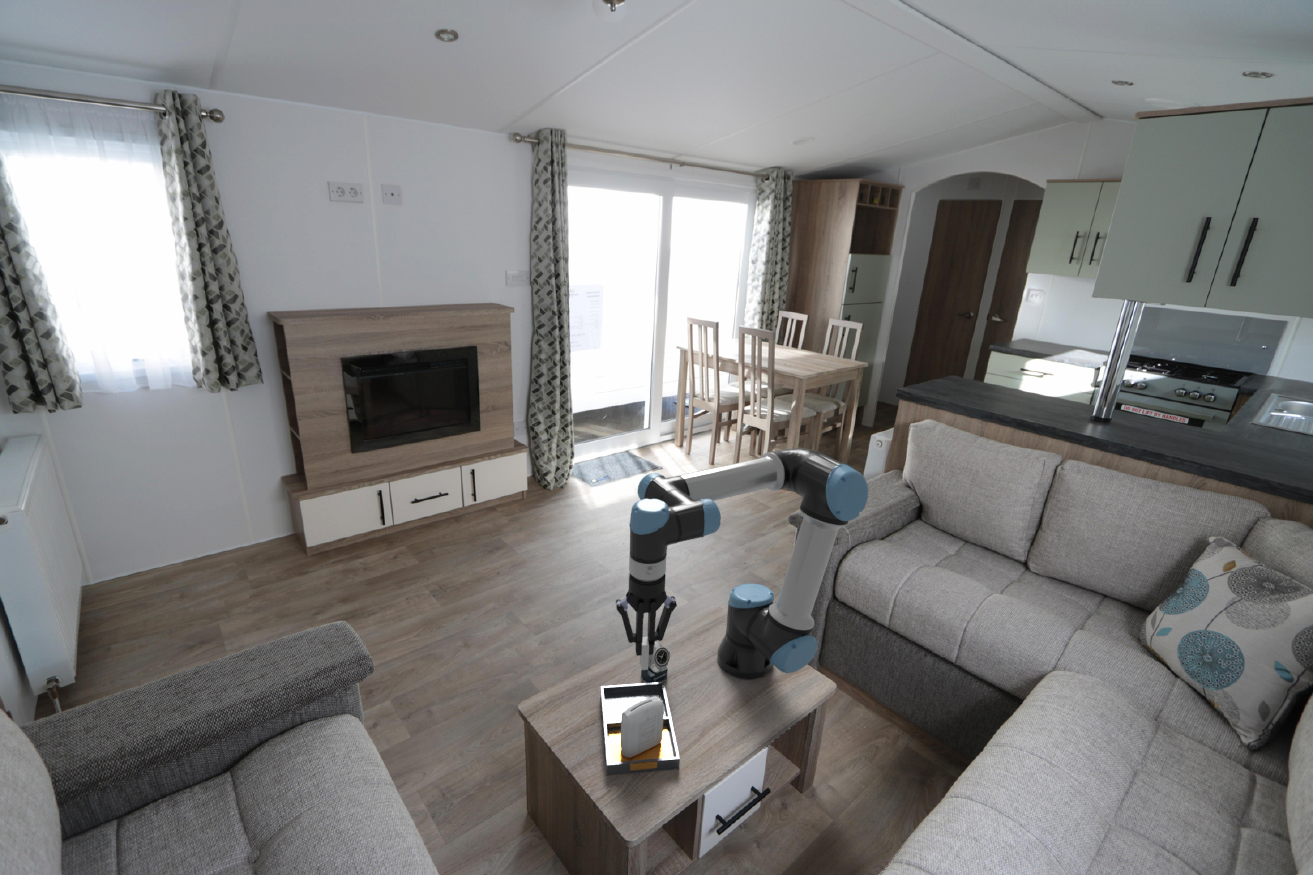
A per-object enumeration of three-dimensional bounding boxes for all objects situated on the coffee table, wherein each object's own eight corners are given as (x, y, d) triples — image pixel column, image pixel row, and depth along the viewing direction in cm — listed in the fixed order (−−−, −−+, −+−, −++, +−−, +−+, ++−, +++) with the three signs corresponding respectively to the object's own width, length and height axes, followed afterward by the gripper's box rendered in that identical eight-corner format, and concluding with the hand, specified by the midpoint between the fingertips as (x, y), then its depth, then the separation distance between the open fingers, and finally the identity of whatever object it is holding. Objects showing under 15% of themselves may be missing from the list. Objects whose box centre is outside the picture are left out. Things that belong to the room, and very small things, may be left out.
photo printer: (654, 729, 145) (656, 688, 141) (664, 742, 142) (667, 700, 138) (617, 748, 140) (618, 706, 136) (626, 761, 137) (628, 718, 132)
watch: (655, 690, 159) (656, 656, 155) (637, 672, 165) (638, 639, 161) (671, 682, 162) (673, 648, 158) (653, 664, 168) (655, 631, 164)
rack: (663, 690, 159) (663, 681, 158) (679, 769, 137) (680, 759, 136) (600, 695, 157) (600, 686, 156) (607, 776, 134) (607, 766, 133)
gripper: (617, 584, 120) (615, 679, 129) (681, 581, 122) (676, 675, 131) (614, 563, 127) (612, 655, 136) (675, 561, 129) (670, 651, 137)
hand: (643, 665), depth 133 cm, fingers closed
